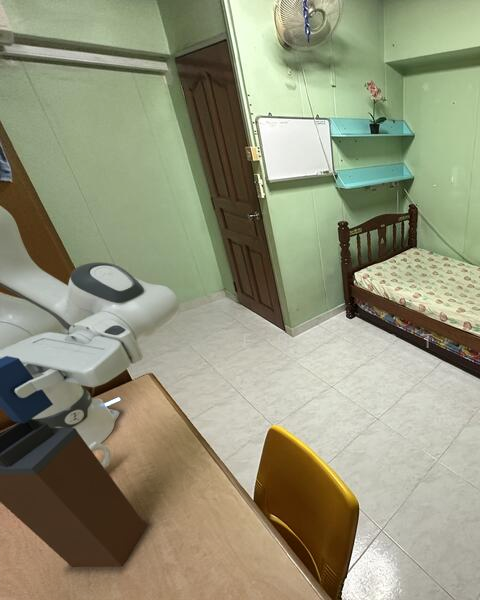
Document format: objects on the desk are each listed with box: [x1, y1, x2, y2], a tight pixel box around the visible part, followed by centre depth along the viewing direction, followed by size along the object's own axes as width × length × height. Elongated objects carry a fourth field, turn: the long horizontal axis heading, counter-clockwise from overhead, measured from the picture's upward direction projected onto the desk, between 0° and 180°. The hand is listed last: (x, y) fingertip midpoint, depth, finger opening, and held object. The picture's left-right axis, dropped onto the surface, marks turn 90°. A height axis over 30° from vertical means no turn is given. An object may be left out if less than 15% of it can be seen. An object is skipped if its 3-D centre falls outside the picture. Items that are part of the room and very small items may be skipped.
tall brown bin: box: [0, 419, 148, 568], centre depth 57 cm, size 10×7×35 cm
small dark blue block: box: [0, 356, 53, 424], centre depth 48 cm, size 2×4×10 cm, turn 168°
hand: (5, 392), depth 47 cm, fingers closed on small dark blue block, 2 cm apart
